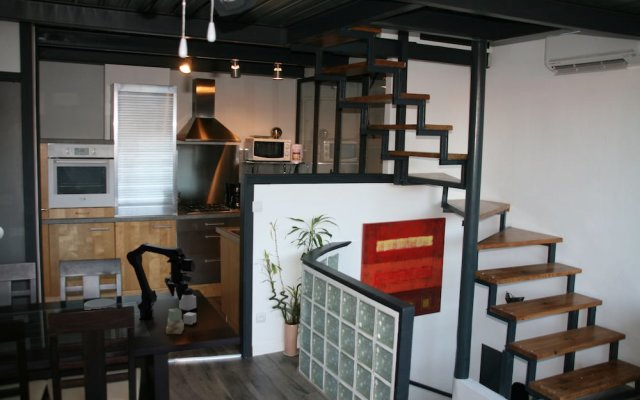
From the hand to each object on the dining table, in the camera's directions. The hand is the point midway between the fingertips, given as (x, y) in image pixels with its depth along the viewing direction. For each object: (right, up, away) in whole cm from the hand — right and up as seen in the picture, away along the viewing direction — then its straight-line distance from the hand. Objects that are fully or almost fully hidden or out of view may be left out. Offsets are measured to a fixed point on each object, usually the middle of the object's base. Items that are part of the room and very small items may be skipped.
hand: (176, 298), depth 323 cm
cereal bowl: (-46, -11, +11) cm, 48 cm away
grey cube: (+8, -14, -1) cm, 15 cm away
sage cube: (+3, -9, -15) cm, 17 cm away
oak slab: (+3, -15, -14) cm, 21 cm away
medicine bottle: (+1, -10, +24) cm, 27 cm away
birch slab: (+3, -12, -15) cm, 19 cm away
